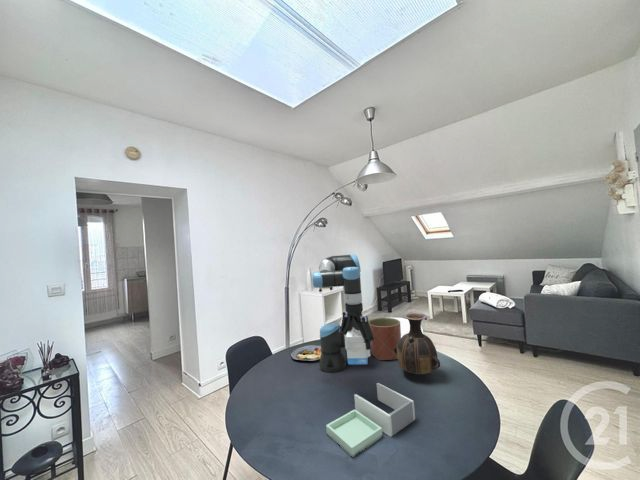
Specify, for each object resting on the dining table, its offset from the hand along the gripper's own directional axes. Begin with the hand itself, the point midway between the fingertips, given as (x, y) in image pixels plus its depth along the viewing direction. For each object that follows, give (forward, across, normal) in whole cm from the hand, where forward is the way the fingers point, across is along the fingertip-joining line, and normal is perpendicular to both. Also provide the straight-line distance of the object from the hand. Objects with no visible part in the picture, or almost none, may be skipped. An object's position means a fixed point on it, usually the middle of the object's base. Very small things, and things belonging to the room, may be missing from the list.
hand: (357, 352), depth 113 cm
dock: (+21, +13, 0) cm, 25 cm away
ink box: (+3, 0, 0) cm, 3 cm away
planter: (+21, -24, +44) cm, 54 cm away
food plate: (+22, -57, +11) cm, 62 cm away
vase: (+21, +3, +37) cm, 43 cm away
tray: (+21, +13, -16) cm, 29 cm away
